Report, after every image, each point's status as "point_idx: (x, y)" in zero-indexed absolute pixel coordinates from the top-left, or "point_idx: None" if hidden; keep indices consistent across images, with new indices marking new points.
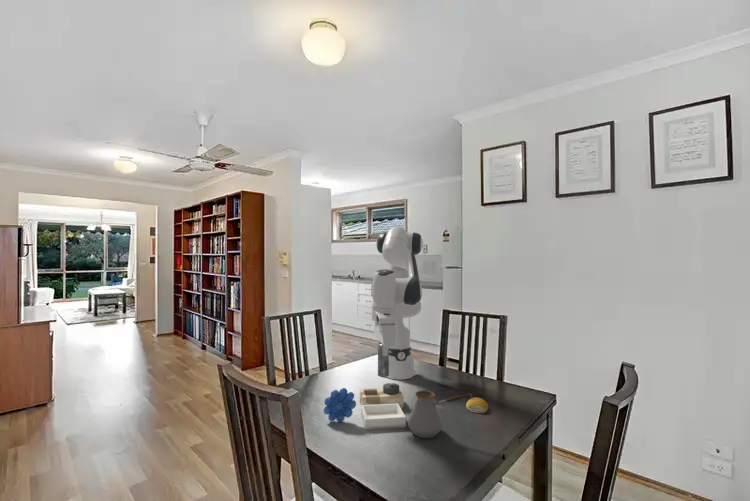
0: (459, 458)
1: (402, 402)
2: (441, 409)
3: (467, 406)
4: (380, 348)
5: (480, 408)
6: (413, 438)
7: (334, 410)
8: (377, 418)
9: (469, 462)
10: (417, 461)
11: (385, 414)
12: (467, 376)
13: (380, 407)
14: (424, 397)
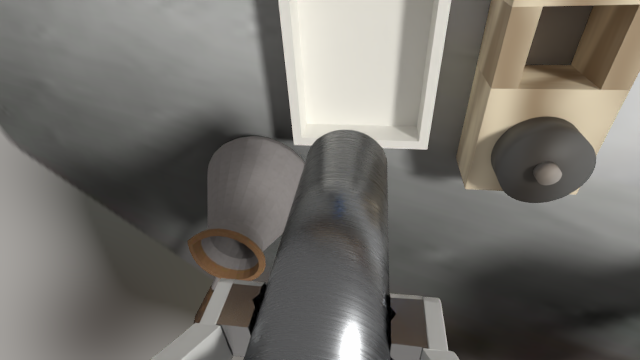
0: (146, 198)
1: (461, 168)
2: (413, 252)
3: None
4: (259, 335)
5: None
6: (228, 130)
7: None
8: (284, 34)
9: (135, 208)
10: (105, 107)
11: (400, 79)
12: None
13: (427, 69)
14: (189, 246)
